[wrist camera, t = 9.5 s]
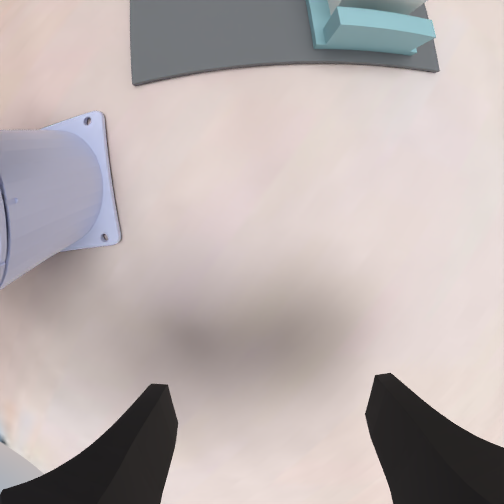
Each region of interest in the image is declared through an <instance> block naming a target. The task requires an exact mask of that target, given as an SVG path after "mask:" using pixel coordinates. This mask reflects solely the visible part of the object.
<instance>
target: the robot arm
mask: <svg viewBox="0 0 504 504" xmlns="http://www.w3.org/2000/svg"><path fill="white" fill-rule="evenodd" d="M88 118H91V123H90V124H89V125H87V119H88ZM103 234H106V235H107V236H108V240H105V239H104V237H103ZM120 239H121V232H120V227H119V221H118V216H117V210H116V205H115V199H114V192H113V186H112V179H111V172H110V165H109V157H108V148H107V139H106V129H105V118H104V114H103V113H102V112H100V111H93V112H89V113H86V114H83V115H80V116H76V117H73V118H70V119H67V120H64V121H61V122H59V123H56V124H53V125H50V126H47V127H45V128H42V129H39V130H0V290H1V289H3V288H4V287H5V286H7V285H8V284H10V283H11V282H13V281H14V280H16V279H17V278H19V277H20V276H22V275H23V274H25V273H26V272H28V271H29V270H31V269H32V268H34V267H36V266H37V265H39V264H40V263H42V262H43V261H45V260H47V259H48V258H50V257H51V256H53V255H55V254H56V253H58V252H61V251H69V250H77V249H84V248H92V247H100V246H108V245H114V244H117V243H118V242H119V241H120ZM365 415H366V420H367V424H368V429H369V433H370V437H371V439H372V442H373V445H374V447H375V450H376V453H377V455H378V458H379V461H380V463H381V466H382V468H383V471H384V474H385V476H386V479H387V482H388V485H389V488H390V491H391V495H392V500H393V504H504V448H503V447H500V446H497V445H495V444H493V443H490V442H488V441H486V440H483V439H481V438H479V437H477V436H475V435H473V434H471V433H470V432H468V431H466V430H464V429H463V428H461V427H459V426H458V425H456V424H454V423H453V422H451V421H450V420H448V419H447V418H446V417H444V416H443V415H441V414H440V413H439V412H437V411H436V410H435V409H433V408H432V407H431V406H429V405H428V404H427V403H426V402H424V401H423V400H422V399H421V398H420V397H418V396H417V395H416V394H415V393H414V392H412V391H411V390H410V389H409V388H408V387H407V386H405V385H404V384H403V383H402V382H401V381H400V380H399V379H397V378H396V377H395V376H394V375H393V374H391V373H387V374H380V375H375V378H374V382H373V386H372V390H371V394H370V398H369V402H368V406H367V409H366V413H365ZM177 428H178V421H177V417H176V414H175V410H174V407H173V403H172V399H171V395H170V392H169V388H168V385H164V384H151V385H149V386H148V388H147V389H146V390H145V391H144V392H143V393H142V394H141V395H140V397H139V398H138V399H137V400H136V401H135V402H134V403H133V404H132V406H131V407H130V408H129V409H128V410H127V411H126V412H125V413H124V414H123V415H122V416H121V417H120V418H119V419H118V420H117V421H116V422H115V423H114V424H113V425H112V426H111V427H110V428H109V429H108V430H107V431H106V432H105V433H104V434H103V435H102V436H101V437H100V438H98V439H97V440H96V441H95V442H94V443H93V444H91V445H90V446H89V447H88V448H86V449H85V450H84V451H82V452H81V453H80V454H78V455H77V456H75V457H74V458H72V459H71V460H69V461H67V462H66V463H64V464H63V465H61V466H59V467H58V468H56V469H54V470H52V471H50V472H48V473H46V474H44V475H42V476H40V477H38V478H35V479H33V480H31V481H28V482H25V483H23V484H20V485H17V486H13V487H10V488H7V489H3V490H2V492H1V494H0V504H160V502H161V498H162V493H163V489H164V486H165V482H166V478H167V475H168V471H169V467H170V464H171V460H172V456H173V452H174V448H175V443H176V436H177Z"/></svg>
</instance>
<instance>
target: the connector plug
mask: <svg viewBox="0 0 504 504" xmlns="http://www.w3.org/2000/svg"><path fill="white" fill-rule="evenodd" d="M327 1H328V5H329V10H330V15H332V14H333V12H334V10H335V9H336V7H337V6H340V7H353V8H363V9H371V10H379V11H386V12H393V13H399V14H404V15H409V14H410V13H411V12H413V11H414V10H415V9H417V8H418V7H419V6H421V5H422V4H423V3H425V2H426V1H427V0H327Z"/></svg>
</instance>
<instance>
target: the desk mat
mask: <svg viewBox="0 0 504 504" xmlns="http://www.w3.org/2000/svg"><path fill="white" fill-rule="evenodd" d="M409 15H410V16H415V17H420V18H424V19H428V15H427V11H426V8H425V4H424V3H423V4H422V5H421V6H419V7H418V8H417V9H415V10H414V11H413V12H411V13H410V14H409ZM130 47H131V71H132V84H133V85H135V86H137V85H141V84H145V83H149V82H154V81H159V80H163V79H168V78H173V77H179V76H184V75H190V74H196V73H202V72H209V71H216V70H223V69H232V68H241V67H251V66H263V65H279V64H307V63H334V64H361V65H377V66H388V67H398V68H407V69H415V70H422V71H429V72H435V73H436V72H439V71H440V70H439V65H438V59H437V54H436V49H435V44H434V40H433V39H432V40H430V41H428V42H426V43H424V44H423V45H421V46H419V47H417V48H416V49H417V53H415V54H413V55H411V56H409V55H402V54H394V53H385V52H374V51H361V50H343V49H314V47H313V41H312V34H311V28H310V23H309V17H308V11H307V6H306V1H305V0H130Z"/></svg>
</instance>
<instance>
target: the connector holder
mask: <svg viewBox="0 0 504 504" xmlns="http://www.w3.org/2000/svg"><path fill="white" fill-rule="evenodd" d="M305 1H306V6H307V11H308V17H309V23H310V28H311V34H312V41H313V47H314V49H343V50H361V51H374V52H385V53H394V54H402V55H409V56H411V55H413V54H415V53H417V49H416V48H417V47H419V46H421V45H423V44H424V43H426V42H428V41H430V40H432V39H434V38H436V35H435V31H434V27H433V23H432V20H429V19H424V18H420V17H415V16H410V15H404V14H399V13H393V12H386V11H379V10H371V9H363V8H353V7H340V6H337V7H336V9H335V10H334V12H333V14H332V15H330V10H329V5H328V1H327V0H305Z"/></svg>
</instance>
